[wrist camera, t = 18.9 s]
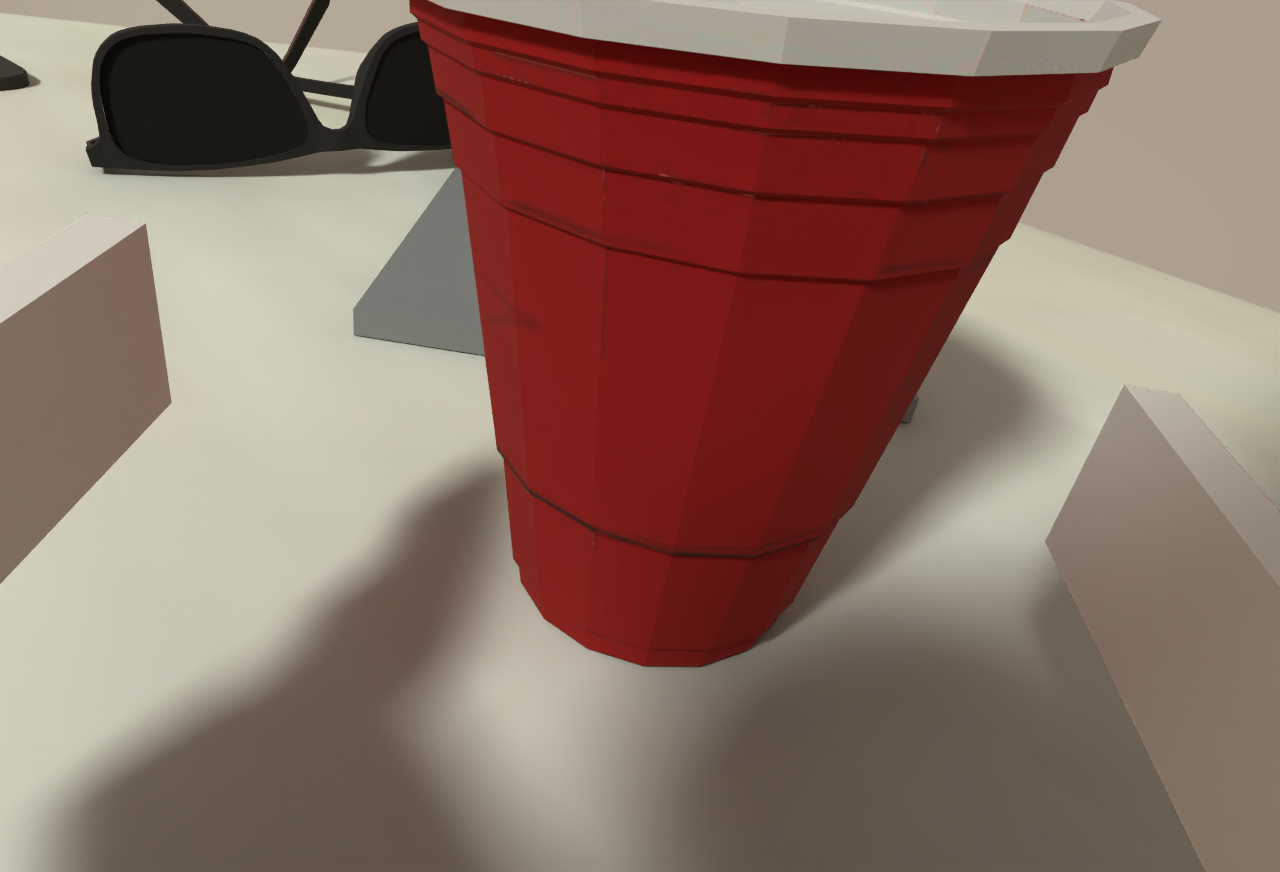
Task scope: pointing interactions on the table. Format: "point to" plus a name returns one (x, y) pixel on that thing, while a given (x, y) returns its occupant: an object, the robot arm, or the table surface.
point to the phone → (12, 75)
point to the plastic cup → (731, 268)
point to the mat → (434, 284)
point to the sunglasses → (250, 97)
